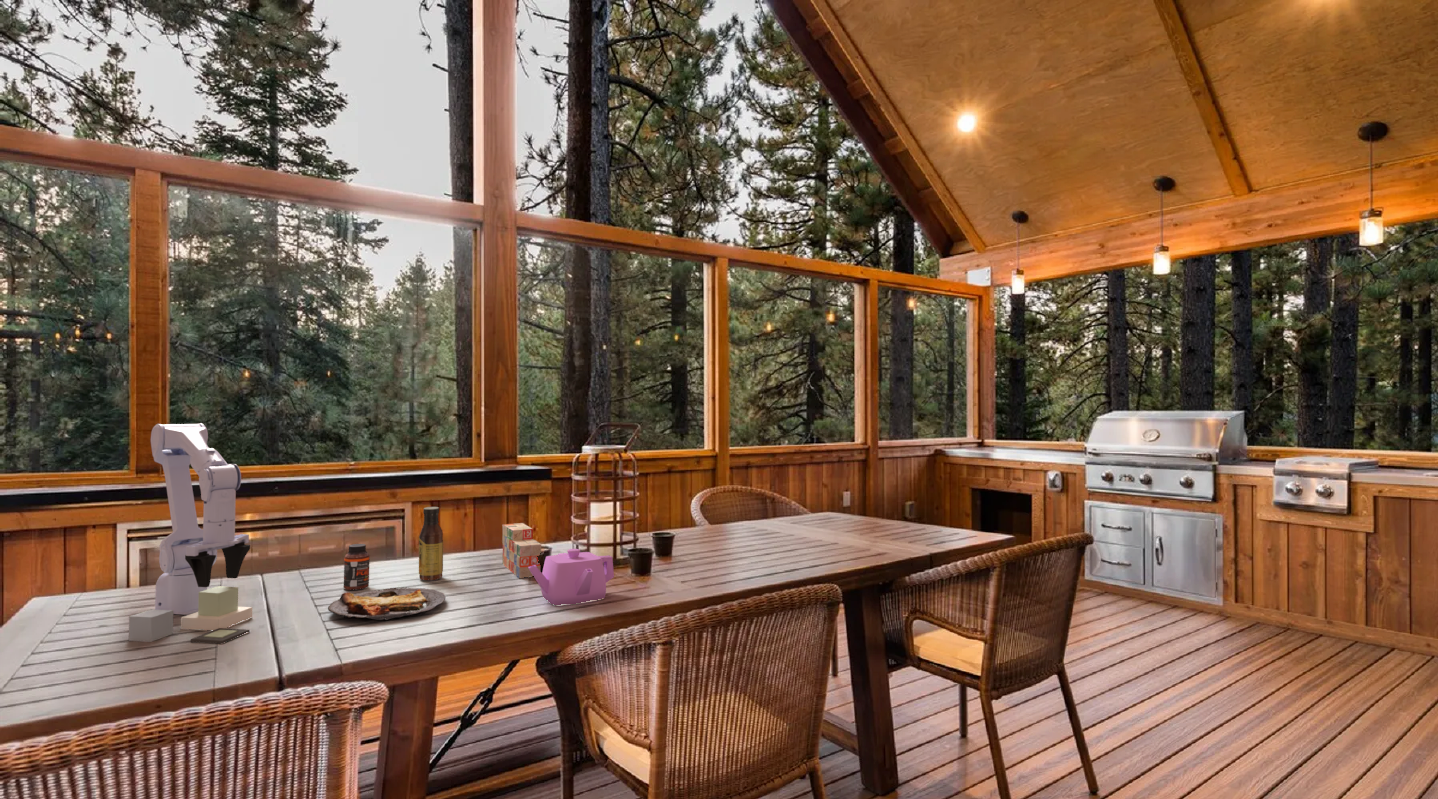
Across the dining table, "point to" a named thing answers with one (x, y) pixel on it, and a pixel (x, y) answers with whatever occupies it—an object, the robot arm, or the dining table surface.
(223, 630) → the tile
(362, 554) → the supplement bottle
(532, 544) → the stack of blocks
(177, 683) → the dining table surface
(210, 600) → the sage block
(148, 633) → the grey block
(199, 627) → the base block
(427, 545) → the sauce bottle
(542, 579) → the teakettle
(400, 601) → the food plate
